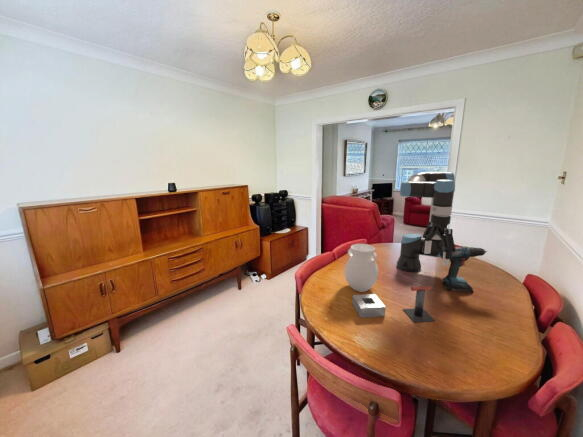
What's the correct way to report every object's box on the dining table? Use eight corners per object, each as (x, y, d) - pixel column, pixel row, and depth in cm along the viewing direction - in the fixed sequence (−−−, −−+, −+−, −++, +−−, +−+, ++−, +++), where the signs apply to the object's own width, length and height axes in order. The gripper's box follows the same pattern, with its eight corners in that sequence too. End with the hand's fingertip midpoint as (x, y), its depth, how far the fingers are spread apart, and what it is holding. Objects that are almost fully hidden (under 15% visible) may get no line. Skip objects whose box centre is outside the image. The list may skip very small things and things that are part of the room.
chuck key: (425, 311, 120) (428, 284, 117) (429, 316, 117) (432, 288, 114) (407, 312, 120) (409, 285, 117) (411, 317, 116) (414, 289, 113)
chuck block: (352, 303, 129) (352, 295, 128) (374, 302, 130) (375, 293, 129) (360, 317, 117) (360, 308, 116) (385, 316, 118) (385, 306, 117)
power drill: (485, 293, 136) (492, 250, 130) (439, 290, 140) (444, 248, 135) (476, 285, 144) (483, 244, 139) (433, 282, 149) (438, 243, 143)
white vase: (382, 286, 146) (385, 246, 140) (368, 299, 133) (370, 255, 127) (354, 277, 158) (355, 239, 152) (338, 288, 145) (339, 247, 139)
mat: (402, 309, 123) (403, 309, 123) (422, 308, 124) (422, 307, 124) (414, 322, 113) (414, 321, 113) (435, 321, 114) (435, 320, 114)
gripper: (417, 209, 123) (413, 249, 128) (451, 222, 99) (445, 271, 104) (432, 208, 123) (427, 248, 128) (470, 221, 99) (462, 270, 104)
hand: (435, 259), depth 116 cm, fingers open, 13 cm apart
